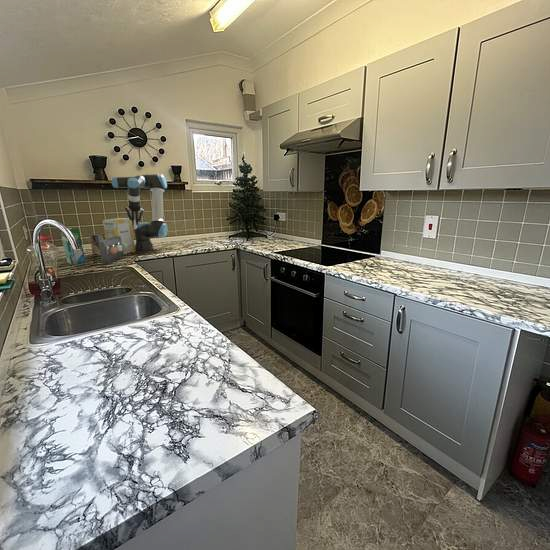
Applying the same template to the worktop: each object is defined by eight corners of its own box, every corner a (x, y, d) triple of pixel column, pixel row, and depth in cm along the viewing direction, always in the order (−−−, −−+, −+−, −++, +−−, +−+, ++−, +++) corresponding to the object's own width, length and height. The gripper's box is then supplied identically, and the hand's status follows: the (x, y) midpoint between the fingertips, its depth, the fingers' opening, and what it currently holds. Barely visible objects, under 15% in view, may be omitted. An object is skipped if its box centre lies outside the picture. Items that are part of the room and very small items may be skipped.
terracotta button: (117, 252, 215) (116, 246, 213) (114, 254, 211) (113, 247, 209) (113, 252, 215) (112, 246, 213) (110, 254, 210) (109, 248, 209)
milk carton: (81, 260, 223) (74, 227, 216) (85, 262, 217) (78, 228, 210) (67, 263, 216) (59, 228, 209) (71, 264, 210) (63, 229, 203)
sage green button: (127, 248, 230) (126, 242, 229) (125, 249, 226) (124, 243, 225) (123, 248, 230) (123, 242, 229) (121, 249, 226) (120, 243, 225)
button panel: (124, 256, 234) (120, 236, 229) (108, 264, 211) (104, 241, 206) (113, 256, 234) (110, 236, 229) (96, 264, 211) (92, 241, 206)
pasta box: (119, 256, 236) (113, 220, 228) (108, 255, 239) (102, 220, 231) (135, 251, 253) (130, 218, 245) (125, 250, 256) (120, 218, 248)
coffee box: (107, 254, 245) (104, 234, 240) (101, 255, 239) (97, 235, 234) (99, 253, 247) (95, 234, 243) (92, 255, 241) (88, 235, 237)
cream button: (122, 250, 222) (121, 244, 221) (120, 251, 218) (119, 245, 217) (118, 250, 222) (117, 244, 221) (115, 251, 218) (114, 245, 217)
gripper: (144, 199, 220) (145, 226, 234) (125, 196, 217) (127, 224, 231) (142, 203, 215) (143, 231, 228) (123, 200, 211) (125, 229, 225)
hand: (135, 228), depth 229 cm, fingers closed
